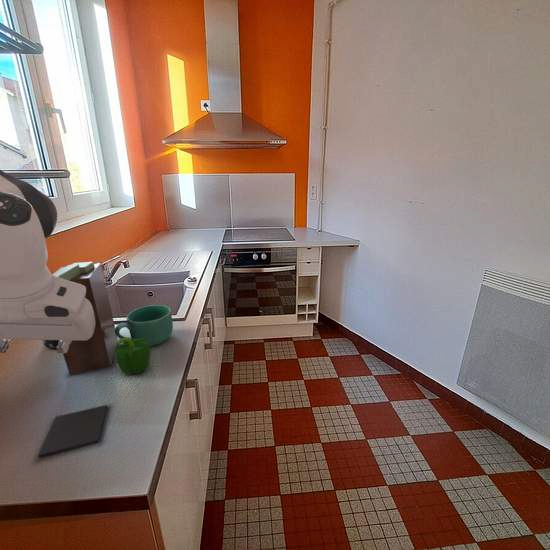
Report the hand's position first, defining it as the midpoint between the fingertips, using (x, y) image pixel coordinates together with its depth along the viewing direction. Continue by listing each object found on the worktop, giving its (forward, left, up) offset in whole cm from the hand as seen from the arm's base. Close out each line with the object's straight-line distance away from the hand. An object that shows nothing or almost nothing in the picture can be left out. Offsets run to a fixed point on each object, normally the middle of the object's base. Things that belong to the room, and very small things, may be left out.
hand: (33, 350), depth 56 cm
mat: (+3, -1, -19) cm, 20 cm away
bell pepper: (+13, +17, -20) cm, 29 cm away
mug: (+15, +31, -20) cm, 40 cm away
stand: (+1, +28, -19) cm, 34 cm away
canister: (-11, +41, -20) cm, 47 cm away
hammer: (+1, +22, +7) cm, 23 cm away
